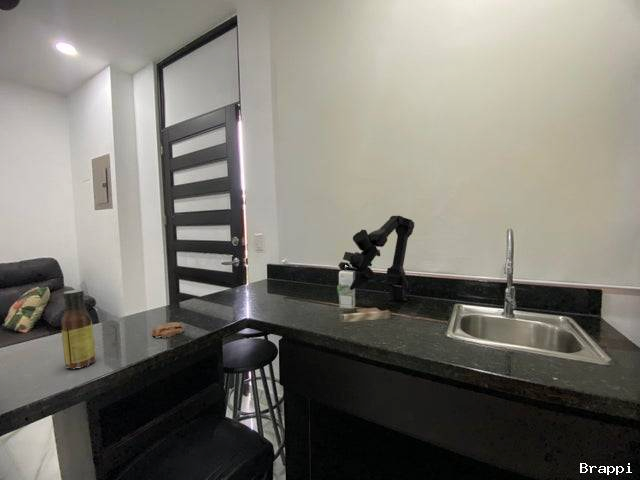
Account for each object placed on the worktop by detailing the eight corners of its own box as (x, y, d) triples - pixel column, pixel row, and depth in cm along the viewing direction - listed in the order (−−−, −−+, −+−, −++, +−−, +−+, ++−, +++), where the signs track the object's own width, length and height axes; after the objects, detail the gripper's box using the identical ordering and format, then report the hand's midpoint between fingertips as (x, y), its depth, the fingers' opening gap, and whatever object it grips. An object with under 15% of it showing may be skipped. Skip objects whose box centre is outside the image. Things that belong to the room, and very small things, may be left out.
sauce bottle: (101, 358, 79) (97, 287, 78) (83, 370, 73) (78, 293, 72) (77, 359, 79) (72, 288, 78) (57, 371, 73) (51, 294, 72)
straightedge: (341, 322, 106) (341, 315, 106) (339, 320, 108) (339, 314, 108) (390, 318, 111) (390, 311, 111) (387, 316, 113) (387, 309, 113)
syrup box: (355, 305, 117) (355, 270, 116) (353, 309, 111) (352, 272, 110) (341, 304, 118) (341, 269, 117) (338, 308, 113) (338, 272, 112)
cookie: (185, 326, 105) (185, 318, 105) (183, 336, 95) (183, 328, 95) (154, 330, 101) (154, 322, 101) (149, 341, 91) (148, 332, 91)
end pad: (364, 317, 112) (364, 316, 112) (356, 310, 120) (356, 309, 120) (385, 315, 114) (385, 314, 114) (376, 309, 123) (376, 307, 123)
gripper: (341, 243, 123) (319, 271, 118) (369, 246, 107) (345, 278, 102) (356, 259, 128) (336, 287, 123) (385, 265, 111) (363, 297, 107)
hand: (344, 287), depth 113 cm, fingers closed on syrup box, 8 cm apart
